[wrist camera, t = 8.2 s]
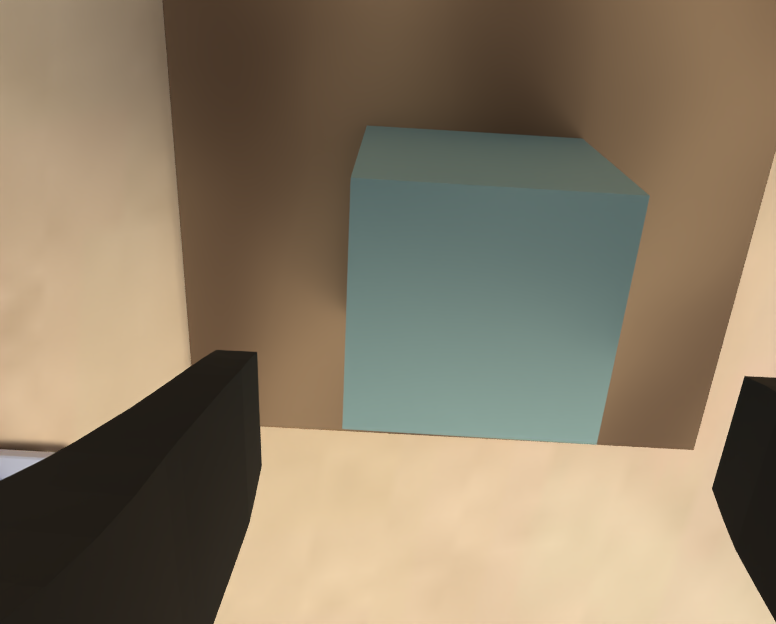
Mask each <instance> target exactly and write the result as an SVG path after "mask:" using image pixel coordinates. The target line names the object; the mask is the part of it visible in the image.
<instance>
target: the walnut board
mask: <svg viewBox="0 0 776 624" xmlns="http://www.w3.org/2000/svg"><path fill="white" fill-rule="evenodd" d="M163 11H164V24H165V37H166V49H167V62H168V75H169V87H170V100H171V113H172V125H173V138H174V151H175V163H176V176H177V188H178V201H179V214H180V226H181V239H182V252H183V264H184V277H185V290H186V302H187V315H188V328H189V340H190V353H191V366H192V365H193V364H195V363H196V362H198V361H199V360H201V359H202V358H204V357H205V356H207V355H208V354H210V353H212V352H213V351H215V350H231V351H251V352H257V359H258V385H259V411H260V426H264V427H282V428H300V429H319V430H337V431H356V432H374V433H392V434H411V435H429V436H448V435H432V434H416V433H399V432H383V431H366V430H350V429H342V423H343V393H344V363H345V333H346V303H347V272H348V242H349V212H350V182H351V175H352V172H353V168H354V165H355V162H356V159H357V156H358V152H359V149H360V146H361V143H362V139H363V136H364V133H365V130H366V126H383V127H399V128H416V129H432V130H449V131H465V132H482V133H498V134H515V135H531V136H548V137H564V138H581V139H584V140H585V141H586V142H587V143H588V144H589V145H591V146H592V147H593V148H594V149H595V150H597V151H598V152H599V153H600V154H601V155H602V156H604V157H605V158H606V159H607V160H608V161H609V162H611V163H612V164H613V165H614V166H615V167H617V168H618V169H619V170H620V171H621V172H622V173H624V174H625V175H626V176H627V177H628V178H630V179H631V180H632V181H633V182H634V183H635V184H637V185H638V186H639V187H640V188H641V189H642V190H644V191H645V192H646V193H647V194H648V195H650V198H649V202H648V207H647V212H646V216H645V221H644V226H643V230H642V235H641V240H640V244H639V249H638V254H637V258H636V263H635V268H634V272H633V277H632V282H631V286H630V291H629V296H628V300H627V305H626V310H625V314H624V319H623V324H622V328H621V333H620V338H619V342H618V347H617V352H616V356H615V361H614V366H613V370H612V375H611V380H610V384H609V389H608V394H607V398H606V403H605V408H604V412H603V417H602V422H601V426H600V431H599V436H598V440H597V445H613V446H632V447H650V448H668V449H687V450H694V446H695V442H696V439H697V435H698V431H699V428H700V424H701V421H702V417H703V413H704V410H705V406H706V402H707V399H708V395H709V391H710V388H711V384H712V380H713V377H714V373H715V369H716V366H717V362H718V359H719V355H720V351H721V348H722V344H723V340H724V337H725V333H726V329H727V326H728V322H729V318H730V315H731V311H732V308H733V304H734V300H735V297H736V293H737V289H738V286H739V282H740V278H741V275H742V271H743V267H744V264H745V260H746V257H747V253H748V249H749V246H750V242H751V238H752V235H753V231H754V227H755V224H756V220H757V216H758V213H759V209H760V205H761V202H762V198H763V195H764V191H765V187H766V184H767V180H768V176H769V173H770V169H771V165H772V162H773V158H774V154H775V151H776V0H163ZM448 437H465V436H448ZM466 438H481V437H466ZM484 439H497V438H484ZM503 440H514V439H503ZM521 441H530V440H521ZM540 442H546V441H540ZM558 443H563V442H558ZM576 444H579V443H576Z"/></svg>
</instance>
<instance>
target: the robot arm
mask: <svg viewBox="0 0 776 624" xmlns="http://www.w3.org/2000/svg"><path fill="white" fill-rule="evenodd" d="M261 466H262V463H261V437H260V411H259V385H258V359H257V352H251V351H231V350H215V351H213V352H212V353H210V354H208V355H207V356H205V357H204V358H202V359H201V360H199V361H198V362H196V363H195V364H193V365H192V366H191V367H189V368H188V369H186V370H185V371H183V372H182V373H181V374H179V375H178V376H176V377H175V378H174V379H172V380H171V381H169V382H168V383H166V384H165V385H163V386H162V387H160V388H159V389H158V390H156V391H155V392H153V393H152V394H150V395H149V396H147V397H146V398H144V399H143V400H141V401H140V402H139V403H137V404H136V405H134V406H133V407H131V408H130V409H128V410H126V411H125V412H123V413H121V414H120V415H118V416H117V417H115V418H113V419H112V420H110V421H108V422H107V423H105V424H103V425H102V426H100V427H99V428H97V429H95V430H94V431H92V432H90V433H89V434H87V435H86V436H84V437H82V438H81V439H79V440H77V441H76V442H74V443H72V444H70V445H69V446H67V447H65V448H63V449H61V450H60V451H58V452H41V451H23V450H5V449H0V624H213V623H214V621H215V618H216V615H217V612H218V610H219V607H220V604H221V601H222V598H223V596H224V593H225V590H226V587H227V585H228V582H229V579H230V576H231V574H232V571H233V568H234V565H235V562H236V560H237V557H238V554H239V551H240V548H241V545H242V543H243V540H244V537H245V534H246V531H247V528H248V525H249V522H250V517H251V513H252V509H253V504H254V500H255V495H256V490H257V485H258V481H259V476H260V471H261ZM712 490H713V493H714V495H715V498H716V501H717V504H718V507H719V509H720V512H721V515H722V518H723V520H724V523H725V525H726V528H727V530H728V533H729V535H730V538H731V540H732V542H733V545H734V547H735V549H736V551H737V553H738V555H739V557H740V559H741V561H742V563H743V564H744V566H745V568H746V570H747V572H748V573H749V575H750V577H751V579H752V581H753V582H754V584H755V586H756V588H757V590H758V591H759V593H760V595H761V597H762V599H763V600H764V602H765V604H766V606H767V607H768V609H769V611H770V613H771V614H772V616H773V618H774V620H775V621H776V378H769V377H749V376H745V377H744V380H743V384H742V387H741V391H740V394H739V397H738V401H737V404H736V408H735V411H734V415H733V418H732V422H731V425H730V428H729V432H728V435H727V439H726V442H725V446H724V449H723V453H722V456H721V459H720V463H719V466H718V470H717V473H716V477H715V480H714V483H713V487H712Z"/></svg>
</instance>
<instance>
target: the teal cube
mask: <svg viewBox="0 0 776 624" xmlns="http://www.w3.org/2000/svg"><path fill="white" fill-rule="evenodd" d="M649 198H650V195H648V194H647V193H646V192H645V191H644V190H642V189H641V188H640V187H639V186H638V185H637V184H635V183H634V182H633V181H632V180H631V179H630V178H628V177H627V176H626V175H625V174H624V173H622V172H621V171H620V170H619V169H618V168H617V167H615V166H614V165H613V164H612V163H611V162H609V161H608V160H607V159H606V158H605V157H604V156H602V155H601V154H600V153H599V152H598V151H597V150H595V149H594V148H593V147H592V146H591V145H589V144H588V143H587V142H586V141H585V140H584V139H581V138H564V137H548V136H531V135H515V134H498V133H482V132H465V131H449V130H432V129H416V128H399V127H383V126H366V130H365V133H364V136H363V139H362V143H361V146H360V149H359V152H358V156H357V159H356V162H355V165H354V168H353V172H352V175H351V182H350V212H349V242H348V272H347V303H346V333H345V363H344V393H343V423H342V429H350V430H366V431H383V432H399V433H416V434H432V435H448V436H465V437H481V438H497V439H514V440H530V441H546V442H563V443H579V444H595V445H597V440H598V436H599V431H600V426H601V422H602V417H603V412H604V408H605V403H606V398H607V394H608V389H609V384H610V380H611V375H612V370H613V366H614V361H615V356H616V352H617V347H618V342H619V338H620V333H621V328H622V324H623V319H624V314H625V310H626V305H627V300H628V296H629V291H630V286H631V282H632V277H633V272H634V268H635V263H636V258H637V254H638V249H639V244H640V240H641V235H642V230H643V226H644V221H645V216H646V212H647V207H648V202H649Z"/></svg>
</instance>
